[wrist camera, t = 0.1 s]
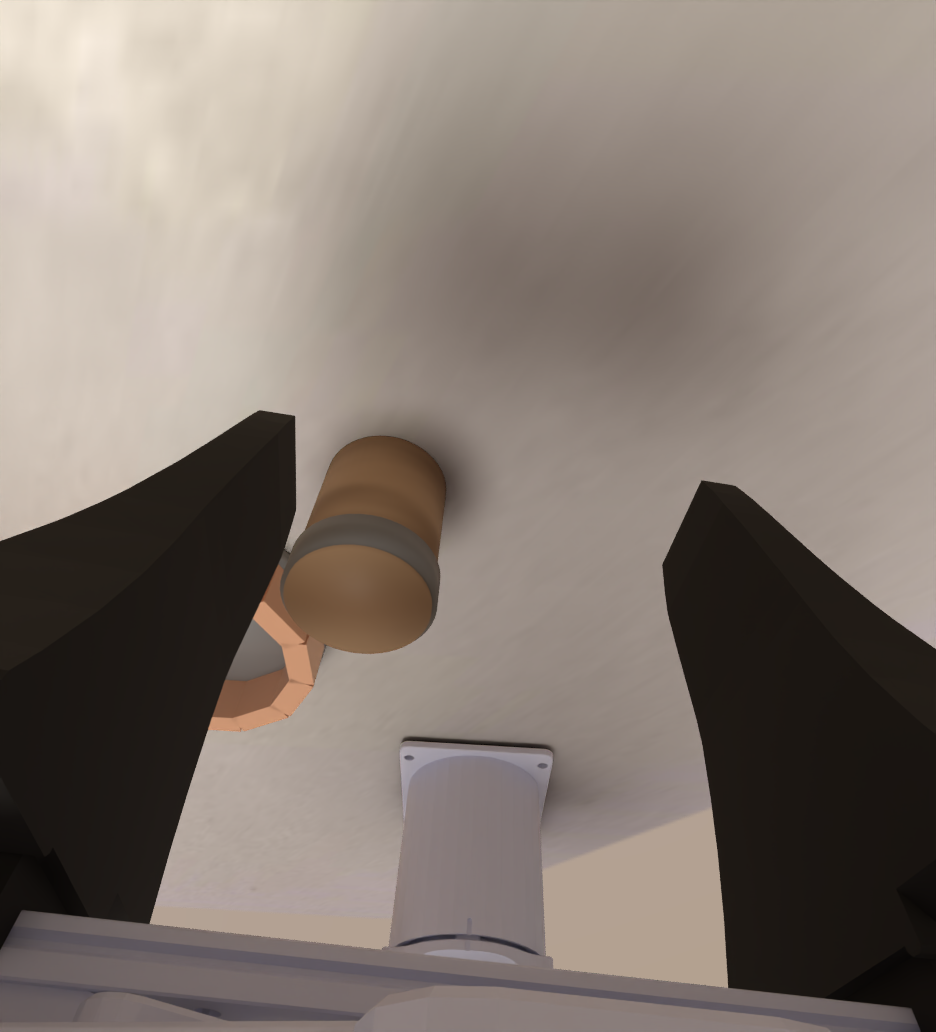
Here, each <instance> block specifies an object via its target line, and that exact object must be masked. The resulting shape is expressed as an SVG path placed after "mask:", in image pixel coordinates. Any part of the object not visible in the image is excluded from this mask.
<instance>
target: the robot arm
mask: <svg viewBox="0 0 936 1032" xmlns="http://www.w3.org/2000/svg"><path fill="white" fill-rule="evenodd" d="M295 512H296V451H295V416H292V415H286V414H280V413H273V412H267V411H261V410H259V411H257V412H256V413H254V414H252V415H250V416H249V417H247V418H246V419H244V420H243V421H241V422H239V423H238V424H236V425H235V426H233V427H232V428H230V429H229V430H227V431H226V432H224V433H223V434H221V435H219V436H218V437H216V438H215V439H213V440H212V441H210V442H208V443H207V444H205V445H204V446H202V447H200V448H199V449H197V450H196V451H194V452H192V453H191V454H189V455H188V456H186V457H184V458H183V459H181V460H179V461H178V462H176V463H174V464H172V465H170V466H169V467H167V468H165V469H163V470H161V471H160V472H158V473H156V474H154V475H152V476H151V477H149V478H147V479H145V480H143V481H142V482H140V483H138V484H136V485H134V486H132V487H131V488H129V489H127V490H125V491H123V492H121V493H119V494H117V495H115V496H113V497H110V498H108V499H106V500H104V501H102V502H100V503H98V504H95V505H93V506H91V507H88V508H86V509H84V510H81V511H79V512H77V513H75V514H72V515H70V516H68V517H65V518H63V519H60V520H58V521H55V522H53V523H50V524H47V525H44V526H41V527H39V528H36V529H33V530H30V531H27V532H25V533H22V534H19V535H16V536H13V537H11V538H8V539H5V540H2V541H0V1032H936V649H935V648H933V647H932V646H931V645H929V644H928V643H926V642H925V641H923V640H922V639H921V638H919V637H918V636H916V635H915V634H913V633H912V632H911V631H909V630H908V629H906V628H905V627H904V626H902V625H901V624H899V623H898V622H896V621H895V620H894V619H892V618H891V617H890V616H888V615H887V614H886V613H884V612H883V611H882V610H880V609H879V608H878V607H876V606H875V605H874V604H873V603H871V602H870V601H869V600H868V599H866V598H865V597H864V596H863V595H862V594H860V593H859V592H858V591H857V590H855V589H854V588H853V587H852V586H850V585H849V584H848V583H847V582H845V581H844V580H843V579H842V578H841V577H839V576H838V575H837V574H836V573H835V572H834V571H832V570H831V569H830V568H829V567H828V566H827V565H825V564H824V563H823V562H822V561H821V560H820V559H819V558H817V557H816V556H815V555H814V554H813V553H812V552H811V551H810V550H808V549H807V548H806V547H805V546H804V545H803V544H802V543H801V542H800V541H798V540H797V539H796V538H795V537H794V536H793V535H792V534H791V533H790V532H788V531H787V530H786V529H785V528H784V527H783V526H782V525H781V524H780V523H779V522H777V521H776V520H775V519H774V518H773V517H772V516H771V515H770V514H769V513H768V512H766V511H765V510H764V509H763V508H762V507H761V506H760V505H758V504H757V503H756V502H755V501H754V500H753V499H751V498H750V497H749V496H748V495H747V494H745V493H744V492H743V491H741V490H740V489H739V488H737V487H736V486H733V485H727V484H721V483H714V482H708V481H701V483H700V485H699V487H698V489H697V492H696V494H695V496H694V498H693V500H692V502H691V504H690V507H689V509H688V511H687V513H686V515H685V517H684V519H683V522H682V524H681V526H680V528H679V530H678V532H677V534H676V537H675V539H674V541H673V543H672V545H671V547H670V549H669V552H668V554H667V556H666V558H665V560H664V562H663V564H662V566H663V577H664V587H665V596H666V603H667V611H668V616H669V620H670V624H671V627H672V631H673V635H674V639H675V643H676V646H677V650H678V654H679V657H680V661H681V665H682V668H683V672H684V675H685V679H686V683H687V686H688V690H689V693H690V697H691V701H692V704H693V708H694V712H695V715H696V719H697V723H698V727H699V732H700V736H701V741H702V745H703V751H704V758H705V764H706V770H707V777H708V783H709V789H710V796H711V803H712V811H713V818H714V827H715V835H716V842H717V849H718V859H719V870H720V881H721V891H722V902H723V912H724V924H725V925H724V926H725V941H726V958H727V973H728V988H724V987H715V986H706V985H697V984H687V983H678V982H669V981H659V980H651V979H642V978H633V977H624V976H614V975H605V974H597V973H587V972H579V971H570V970H561V969H553V959H552V957H549V956H546V953H545V952H546V951H545V930H544V929H545V927H544V906H543V905H544V904H543V880H542V856H541V832H540V822H541V817H542V812H543V807H544V802H545V798H546V793H547V788H548V783H549V778H550V774H551V769H552V764H553V753H552V752H551V751H550V750H548V749H538V748H521V747H505V746H488V745H471V744H454V743H438V742H421V741H405V742H403V743H401V745H400V751H399V752H400V769H401V786H402V803H403V820H404V828H403V836H402V844H401V852H400V860H399V868H398V876H397V884H396V892H395V900H394V908H393V916H392V924H391V933H390V940H389V947H383V948H382V950H379V949H370V948H361V947H352V946H342V945H334V944H325V943H316V942H307V941H298V940H289V939H280V938H270V937H261V936H252V935H242V934H234V933H225V932H216V931H206V930H198V929H189V928H180V927H170V926H162V925H153V924H149V923H150V920H151V916H152V912H153V909H154V905H155V902H156V898H157V895H158V891H159V888H160V884H161V881H162V877H163V874H164V870H165V866H166V863H167V859H168V856H169V852H170V849H171V846H172V842H173V839H174V836H175V833H176V829H177V826H178V823H179V819H180V816H181V813H182V809H183V806H184V803H185V800H186V796H187V793H188V790H189V786H190V783H191V780H192V777H193V774H194V771H195V768H196V765H197V762H198V759H199V756H200V752H201V749H202V746H203V743H204V740H205V737H206V734H207V731H208V728H209V725H210V722H211V719H212V716H213V713H214V711H215V708H216V705H217V702H218V699H219V696H220V693H221V690H222V687H223V684H224V682H225V679H226V677H227V674H228V672H229V669H230V667H231V665H232V662H233V660H234V657H235V655H236V653H237V651H238V649H239V647H240V645H241V643H242V640H243V638H244V636H245V634H246V632H247V630H248V628H249V626H250V624H251V621H252V619H253V617H254V615H255V613H256V611H257V609H258V607H259V604H260V602H261V600H262V598H263V596H264V594H265V592H266V590H267V587H268V585H269V583H270V581H271V579H272V577H273V575H274V572H275V570H276V568H277V566H278V564H279V561H280V559H281V557H282V554H283V551H284V548H285V545H286V542H287V539H288V535H289V532H290V529H291V525H292V522H293V519H294V515H295Z"/></svg>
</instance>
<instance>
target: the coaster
mask: <svg viewBox="0 0 936 1032" xmlns="http://www.w3.org/2000/svg"><path fill="white" fill-rule="evenodd" d="M289 556H290V554H289V553H287V552H286V551H285V550H284V551H283V554H282V557H281V559H280V561H279V564H278V566H277V568H276V570H275V572H274V575H273V577H272V579H271V581H270V583H269V585H268V587H267V590H266V592H265V594H264V596H263V598H262V600H261V602H260V604H259V607H258V609H257V611H256V613H255V615H254V617H253V619H252V621H251V624H250V626H249V628H248V630H247V632H246V634H245V636H244V638H243V640H242V643H241V645H240V647H239V649H238V651H237V653H236V655H235V657H234V660H233V662H232V665H231V667H230V669H229V672H228V674H227V677H226V679H225V682H224V684H223V687H222V690H221V693H220V696H219V699H218V702H217V705H216V708H215V711H214V713H213V716H212V719H211V722H210V725H209V728H208V730H223V731H240V732H241V730H243V731H247V730H250V729H253V728H256V727H260V726H263V725H266V724H269V723H272V722H276V721H279V720H282V719H285V718H288V716H291V715H292V714H293V712H294V711H295V710H296V709H297V707H298V706H299V705H300V703H301V702H302V701H303V700H304V698H305V697H306V696H307V694H308V693H309V692H310V691H311V689H312V688H313V686H314V683H315V679H316V675H317V672H318V668H319V665H320V661H321V658H322V656H323V653H324V651H325V648H326V645H325V644H323V643H321V642H319V641H317V640H316V639H314V638H312V637H311V636H309V635H308V634H307V633H305V632H304V631H303V630H302V629H301V628H300V627H298V625H297V624H296V623H295V622H294V621H293V619H292V618H291V616H290V615H289V613H288V612H287V610H286V609H285V606H284V604H283V602H282V598H281V594H280V581H281V577H282V574H283V571H284V569H285V566H286V564H287V561H288V559H289Z"/></svg>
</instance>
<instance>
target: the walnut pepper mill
mask: <svg viewBox="0 0 936 1032" xmlns="http://www.w3.org/2000/svg"><path fill="white" fill-rule="evenodd" d="M445 498H446V483H445V478H444V475H443V473H442V471H441V469H440V467H439V465H438V464H437V463H436V461H435V460H434V459H433V458H432V457H431V456H430V455H429V454H428V453H427V452H426V451H424V450H423V449H422V448H420V447H418V446H417V445H415V444H413V443H411V442H409V441H406V440H403V439H400V438H395V437H389V436H372V437H366V438H362V439H358V440H356V441H353V442H351V443H350V444H348V445H346V446H345V447H344V448H342V449H341V450H340V451H339V452H338V453H337V454H336V455H335V457H334V458H333V460H332V462H331V464H330V466H329V469H328V471H327V474H326V477H325V479H324V482H323V484H322V487H321V490H320V492H319V495H318V497H317V500H316V503H315V505H314V508H313V510H312V513H311V516H310V518H309V521H308V523H307V526H306V529H305V531H304V532H303V533H302V534H301V535H300V536H299V538H298V539H297V540H296V542H295V544H294V546H293V548H292V551H291V554H290V556H289V559H288V561H287V564H286V566H285V569H284V571H283V574H282V577H281V581H280V594H281V598H282V602H283V604H284V606H285V609H286V610H287V612H288V613H289V615H290V616H291V618H292V619H293V621H294V622H295V623H296V624H297V625H298V627H300V628H301V629H302V630H303V631H304V632H305V633H307V634H308V635H309V636H311V637H312V638H314V639H316V640H317V641H319V642H321V643H323V644H325V645H327V646H330V647H333V648H336V649H339V650H343V651H348V652H353V653H362V654H374V653H383V652H389V651H393V650H397V649H399V648H402V647H404V646H406V645H408V644H410V643H412V642H413V641H415V640H416V639H418V638H419V637H421V636H422V635H423V634H424V633H425V632H426V631H427V630H428V629H429V627H430V626H431V624H432V622H433V620H434V619H435V615H436V612H437V603H438V594H439V585H440V569H439V565H438V555H439V546H440V538H441V530H442V522H443V514H444V506H445Z"/></svg>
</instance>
